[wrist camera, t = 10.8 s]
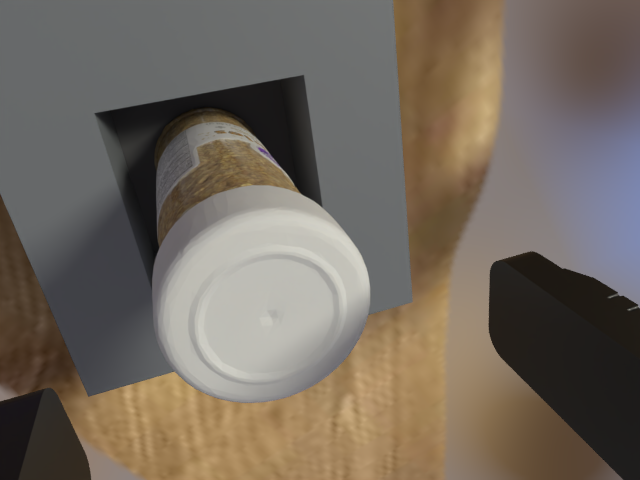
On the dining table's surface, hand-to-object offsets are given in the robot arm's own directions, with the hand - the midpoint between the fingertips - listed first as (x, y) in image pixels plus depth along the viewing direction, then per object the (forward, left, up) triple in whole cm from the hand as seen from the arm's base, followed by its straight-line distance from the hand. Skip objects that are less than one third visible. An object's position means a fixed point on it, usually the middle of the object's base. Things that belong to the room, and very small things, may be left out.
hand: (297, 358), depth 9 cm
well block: (0, 0, -15) cm, 15 cm away
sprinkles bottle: (0, 0, -15) cm, 15 cm away
